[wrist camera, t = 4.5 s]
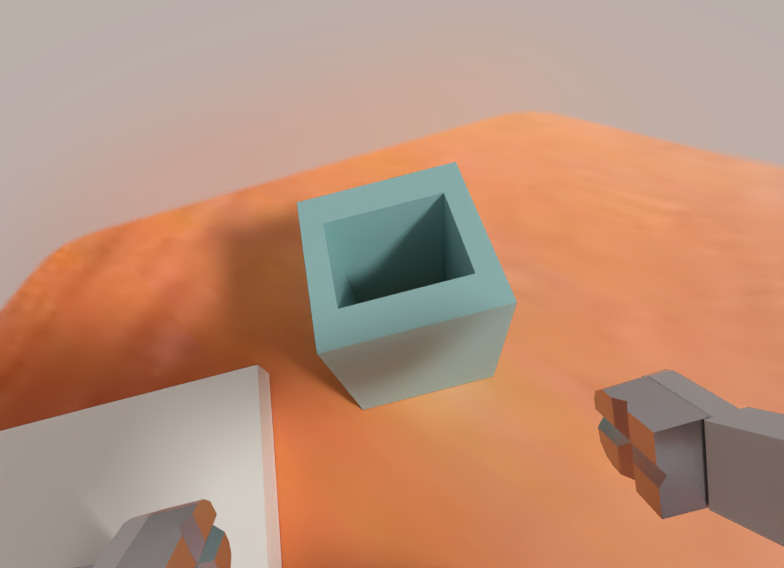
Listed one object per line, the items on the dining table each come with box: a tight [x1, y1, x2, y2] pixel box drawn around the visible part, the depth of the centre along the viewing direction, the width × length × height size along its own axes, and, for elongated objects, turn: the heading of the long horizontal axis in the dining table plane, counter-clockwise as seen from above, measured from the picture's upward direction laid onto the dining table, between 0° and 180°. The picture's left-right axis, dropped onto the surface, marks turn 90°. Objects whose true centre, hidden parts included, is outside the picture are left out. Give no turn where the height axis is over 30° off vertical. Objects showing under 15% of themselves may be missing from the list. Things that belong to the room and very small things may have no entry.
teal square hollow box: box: [297, 162, 517, 410], centre depth 18 cm, size 7×7×8 cm
